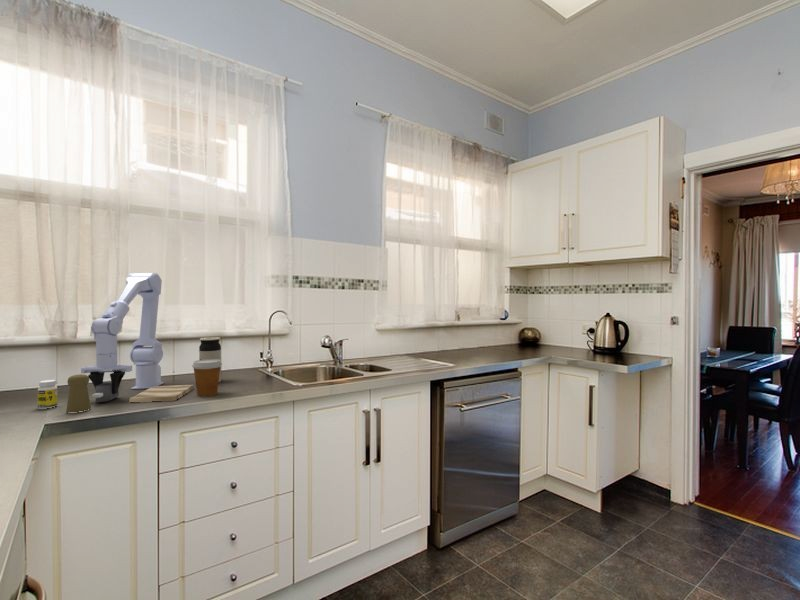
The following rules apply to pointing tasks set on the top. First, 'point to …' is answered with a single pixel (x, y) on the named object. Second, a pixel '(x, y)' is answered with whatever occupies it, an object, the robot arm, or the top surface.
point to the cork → (78, 393)
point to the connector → (104, 392)
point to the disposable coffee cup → (207, 376)
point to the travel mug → (210, 350)
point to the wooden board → (162, 393)
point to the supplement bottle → (47, 394)
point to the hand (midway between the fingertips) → (107, 393)
